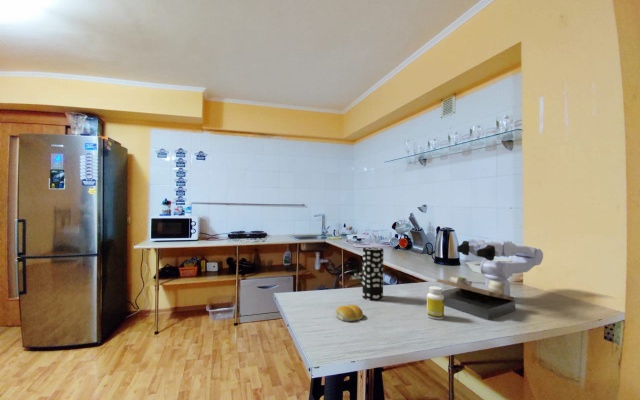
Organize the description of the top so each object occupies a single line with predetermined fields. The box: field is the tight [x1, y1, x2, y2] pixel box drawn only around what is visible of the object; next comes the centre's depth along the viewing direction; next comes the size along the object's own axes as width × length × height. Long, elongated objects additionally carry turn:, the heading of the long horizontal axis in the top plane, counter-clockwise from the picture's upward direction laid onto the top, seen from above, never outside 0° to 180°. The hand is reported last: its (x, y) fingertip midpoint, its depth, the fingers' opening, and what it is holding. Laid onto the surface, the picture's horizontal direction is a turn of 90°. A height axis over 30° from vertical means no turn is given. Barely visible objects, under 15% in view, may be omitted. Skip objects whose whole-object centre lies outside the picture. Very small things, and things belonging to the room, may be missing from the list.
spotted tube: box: [361, 247, 384, 302], centre depth 115 cm, size 8×8×20 cm
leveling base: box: [441, 287, 516, 321], centre depth 106 cm, size 18×21×4 cm
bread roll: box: [335, 304, 364, 322], centre depth 94 cm, size 8×9×4 cm
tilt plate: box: [437, 276, 515, 301], centre depth 107 cm, size 17×20×5 cm
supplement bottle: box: [426, 285, 445, 320], centre depth 95 cm, size 5×5×10 cm
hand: (467, 250), depth 105 cm, fingers open, 7 cm apart
